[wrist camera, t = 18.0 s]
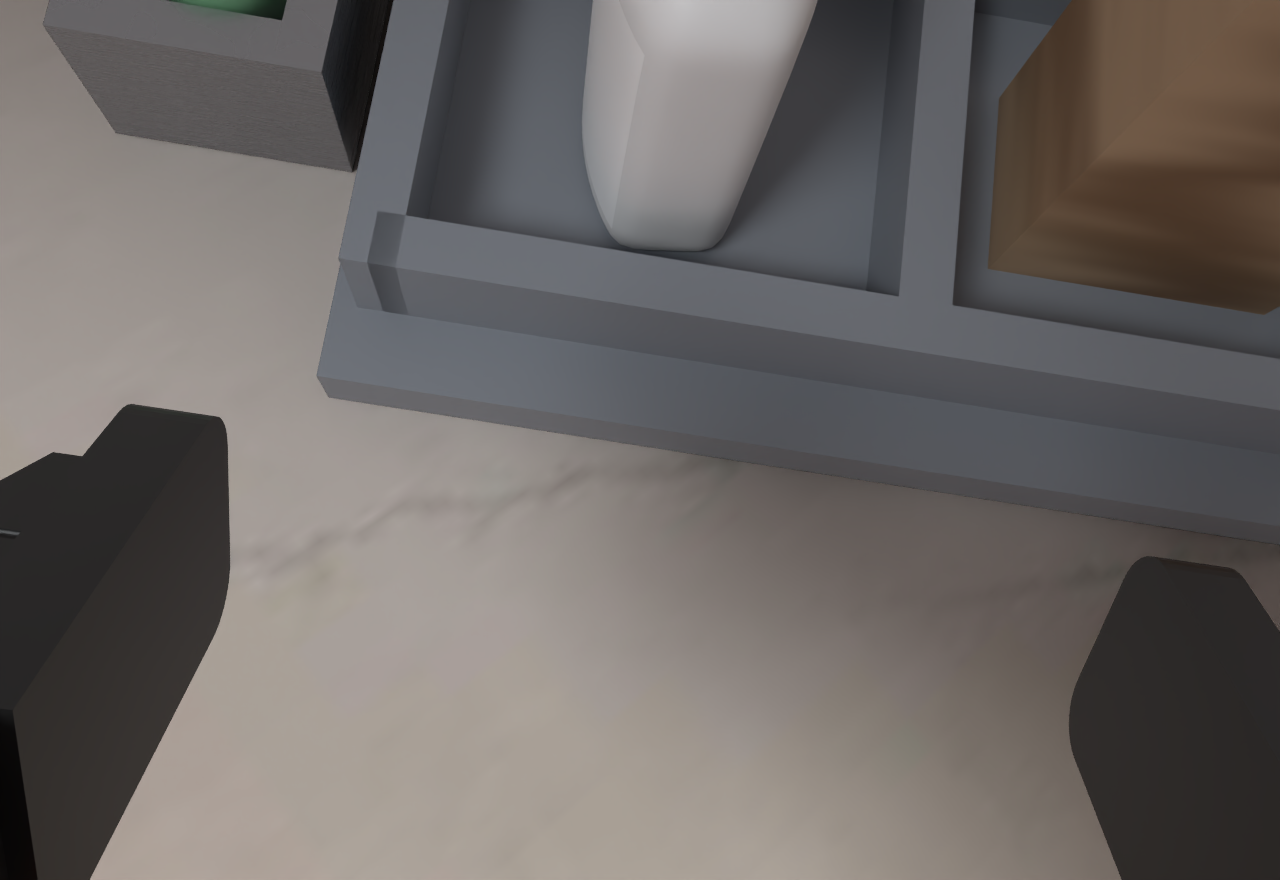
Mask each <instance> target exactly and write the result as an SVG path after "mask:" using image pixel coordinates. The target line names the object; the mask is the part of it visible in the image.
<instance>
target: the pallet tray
mask: <svg viewBox="0 0 1280 880" xmlns="http://www.w3.org/2000/svg"><path fill="white" fill-rule="evenodd" d="M1071 1H1072V0H818V1H817V4H816V7H815V11H814V14H813V17H812V19H811V22H810V25H809V28H808V30H807V33H806V36H805V38H804V41H803V43H802V46H801V49H800V51H799V54H798V57H797V59H796V62H795V64H794V67H793V70H792V72H791V75H790V77H789V80H788V82H787V85H786V87H785V90H784V92H783V94H782V97H781V99H780V102H779V104H778V107H777V109H776V112H775V114H774V117H773V119H772V122H771V124H770V127H769V129H768V132H767V134H766V137H765V139H764V141H763V144H762V146H761V149H760V151H759V154H758V156H757V159H756V161H755V164H754V166H753V168H752V171H751V173H750V176H749V178H748V181H747V183H746V186H745V188H744V190H743V193H742V195H741V198H740V200H739V203H738V205H737V207H736V210H735V212H734V215H733V217H732V219H731V222H730V224H729V226H728V228H727V230H726V232H725V233H724V235H723V237H722V239H721V240H720V241H719V242H718V243H716V244H715V245H714V246H713V247H712V248H710V249H706V250H702V251H662V250H643V249H633V248H630V247H627V246H623V245H620V244H619V243H618V242H617V241H616V240H615V239H614V238H613V237H612V236H611V235H610V234H609V232H608V230H607V228H606V226H605V224H604V222H603V220H602V218H601V215H600V213H599V210H598V208H597V205H596V202H595V199H594V197H593V194H592V190H591V187H590V183H589V179H588V175H587V170H586V165H585V158H584V152H583V140H582V108H583V95H584V85H585V75H586V65H587V55H588V45H589V34H590V24H591V14H592V4H593V0H394V1H393V6H392V10H391V15H390V20H389V24H388V29H387V34H386V38H385V43H384V48H383V52H382V57H381V62H380V66H379V71H378V76H377V80H376V85H375V90H374V94H373V99H372V104H371V108H370V113H369V118H368V122H367V127H366V132H365V136H364V141H363V146H362V150H361V155H360V160H359V164H358V169H357V174H356V178H355V183H354V188H353V192H352V197H351V202H350V206H349V211H348V216H347V220H346V225H345V230H344V234H343V239H342V244H341V248H340V253H339V261H340V263H341V264H340V268H339V273H338V278H337V282H336V287H335V292H334V296H333V301H332V306H331V310H330V315H329V320H328V324H327V329H326V334H325V338H324V343H323V348H322V352H321V357H320V362H319V366H318V371H317V378H318V380H319V381H320V383H321V385H322V386H323V388H324V390H325V392H326V393H327V395H328V397H330V398H336V399H343V400H349V401H356V402H362V403H368V404H375V405H381V406H388V407H394V408H401V409H407V410H414V411H420V412H427V413H433V414H439V415H446V416H452V417H459V418H465V419H472V420H478V421H485V422H491V423H497V424H504V425H510V426H517V427H523V428H530V429H536V430H543V431H549V432H555V433H562V434H568V435H575V436H581V437H588V438H594V439H601V440H607V441H613V442H620V443H626V444H633V445H639V446H646V447H652V448H659V449H665V450H672V451H678V452H684V453H691V454H697V455H704V456H710V457H717V458H723V459H730V460H736V461H742V462H749V463H755V464H762V465H768V466H775V467H781V468H788V469H794V470H800V471H807V472H813V473H820V474H826V475H833V476H839V477H846V478H852V479H858V480H865V481H871V482H878V483H884V484H891V485H897V486H904V487H910V488H916V489H923V490H929V491H936V492H942V493H949V494H955V495H962V496H968V497H975V498H981V499H987V500H994V501H1000V502H1007V503H1013V504H1020V505H1026V506H1033V507H1039V508H1045V509H1052V510H1058V511H1065V512H1071V513H1078V514H1084V515H1091V516H1097V517H1103V518H1110V519H1116V520H1123V521H1129V522H1136V523H1142V524H1149V525H1155V526H1161V527H1168V528H1174V529H1181V530H1187V531H1194V532H1200V533H1207V534H1213V535H1219V536H1226V537H1232V538H1239V539H1245V540H1252V541H1258V542H1265V543H1271V544H1278V545H1280V306H1279V307H1277V308H1276V309H1274V310H1272V311H1270V312H1269V313H1267V314H1265V315H1261V314H1255V313H1249V312H1243V311H1237V310H1231V309H1225V308H1219V307H1213V306H1207V305H1201V304H1195V303H1189V302H1183V301H1177V300H1171V299H1165V298H1159V297H1153V296H1147V295H1141V294H1135V293H1129V292H1123V291H1117V290H1111V289H1105V288H1099V287H1093V286H1087V285H1081V284H1075V283H1069V282H1063V281H1057V280H1051V279H1045V278H1039V277H1033V276H1027V275H1021V274H1015V273H1009V272H1003V271H997V270H991V269H988V256H989V242H990V227H991V212H992V197H993V182H994V167H995V152H996V137H997V122H998V107H999V97H1000V96H1001V95H1002V93H1003V92H1004V91H1005V89H1006V88H1007V87H1008V85H1009V84H1010V83H1011V81H1012V80H1013V79H1014V77H1015V76H1016V75H1017V73H1018V72H1019V71H1020V69H1021V68H1022V67H1023V65H1024V64H1025V63H1026V61H1027V60H1028V58H1029V57H1030V56H1031V54H1032V53H1033V52H1034V50H1035V49H1036V48H1037V46H1038V45H1039V44H1040V42H1041V41H1042V40H1043V38H1044V37H1045V36H1046V34H1047V33H1048V32H1049V30H1050V29H1051V28H1052V26H1053V25H1054V24H1055V22H1056V21H1057V19H1058V18H1059V17H1060V15H1061V14H1062V13H1063V11H1064V10H1065V9H1066V7H1067V6H1068V5H1069V3H1070V2H1071Z"/></svg>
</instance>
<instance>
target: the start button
mask: <svg viewBox="0 0 1280 880" xmlns="http://www.w3.org/2000/svg"><path fill="white" fill-rule="evenodd" d="M169 1H172V2H178V3H184V4H190V5H196V6H201V7H207V8H213V9H219V10H225V11H230V12H236V13H242V14H248V15H253V16H259V17H265V18H271V19H277V20H282V19H283V15H284V10H285V6H286V2H287V0H169Z"/></svg>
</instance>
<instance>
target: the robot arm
mask: <svg viewBox="0 0 1280 880" xmlns="http://www.w3.org/2000/svg"><path fill="white" fill-rule="evenodd" d="M229 574H230V533H229V487H228V444H227V433H226V428H225V425H224V423H223V421H222V419H221V418H220V417H216V416H209V415H203V414H196V413H189V412H182V411H176V410H169V409H162V408H155V407H148V406H142V405H135V404H129V405H126V406H125V407H123V408H122V409H121V410H120V411H119V412H118V414H117V415H116V416H115V417H114V418H113V420H112V421H111V422H110V423H109V425H108V426H107V427H106V428H105V429H104V431H103V432H102V433H101V434H100V436H99V437H98V438H97V439H96V440H95V442H94V443H93V444H92V445H91V446H90V448H89V449H88V450H87V451H86V453H85V454H84V455H83V456H76V455H69V454H62V453H55V452H53V453H51V454H49V455H47V456H45V457H43V458H41V459H40V460H38V461H36V462H34V463H32V464H30V465H28V466H26V467H25V468H23V469H21V470H19V471H17V472H15V473H13V474H12V475H10V476H8V477H6V478H4V479H2V480H0V880H90V878H91V876H92V874H93V872H94V870H95V868H96V866H97V864H98V862H99V860H100V858H101V856H102V854H103V852H104V850H105V848H106V846H107V844H108V843H109V841H110V839H111V837H112V835H113V833H114V831H115V829H116V827H117V825H118V823H119V821H120V819H121V817H122V815H123V813H124V811H125V809H126V807H127V805H128V803H129V801H130V799H131V797H132V796H133V794H134V792H135V790H136V788H137V786H138V784H139V782H140V780H141V778H142V776H143V774H144V772H145V770H146V768H147V766H148V764H149V762H150V760H151V758H152V756H153V754H154V752H155V751H156V749H157V747H158V745H159V743H160V741H161V739H162V737H163V735H164V733H165V731H166V729H167V727H168V725H169V723H170V721H171V719H172V717H173V715H174V713H175V711H176V709H177V707H178V705H179V704H180V702H181V700H182V698H183V696H184V694H185V692H186V690H187V688H188V686H189V684H190V682H191V680H192V678H193V676H194V674H195V672H196V670H197V668H198V666H199V664H200V662H201V660H202V658H203V657H204V655H205V653H206V651H207V649H208V647H209V645H210V643H211V641H212V639H213V637H214V635H215V632H216V630H217V627H218V625H219V622H220V619H221V616H222V612H223V609H224V605H225V600H226V595H227V590H228V583H229ZM1069 734H1070V743H1071V747H1072V752H1073V755H1074V758H1075V761H1076V763H1077V766H1078V768H1079V771H1080V774H1081V776H1082V779H1083V781H1084V784H1085V786H1086V789H1087V792H1088V794H1089V797H1090V799H1091V802H1092V804H1093V807H1094V810H1095V812H1096V815H1097V817H1098V820H1099V822H1100V825H1101V828H1102V830H1103V833H1104V835H1105V838H1106V840H1107V843H1108V846H1109V848H1110V851H1111V853H1112V856H1113V859H1114V861H1115V864H1116V866H1117V869H1118V871H1119V874H1120V876H1121V879H1122V880H1280V632H1279V630H1278V629H1277V627H1276V626H1275V624H1274V623H1273V621H1272V620H1271V618H1270V617H1269V615H1268V614H1267V612H1266V611H1265V609H1264V608H1263V606H1262V605H1261V603H1260V602H1259V600H1258V599H1257V597H1256V596H1255V594H1254V593H1253V591H1252V590H1251V589H1250V587H1249V586H1248V584H1247V583H1246V581H1245V580H1244V578H1243V577H1242V576H1241V575H1240V574H1239V573H1238V572H1237V571H1235V570H1233V569H1231V568H1226V567H1219V566H1212V565H1206V564H1199V563H1192V562H1185V561H1178V560H1172V559H1165V558H1158V557H1150V556H1146V557H1143V558H1141V559H1139V560H1138V561H1136V562H1135V563H1134V564H1133V565H1132V567H1131V568H1130V570H1129V571H1128V572H1127V574H1126V576H1125V578H1124V580H1123V582H1122V585H1121V587H1120V589H1119V591H1118V593H1117V596H1116V598H1115V600H1114V602H1113V604H1112V606H1111V609H1110V611H1109V613H1108V615H1107V617H1106V620H1105V622H1104V624H1103V626H1102V628H1101V631H1100V633H1099V635H1098V637H1097V639H1096V641H1095V644H1094V646H1093V648H1092V650H1091V652H1090V655H1089V657H1088V659H1087V661H1086V663H1085V666H1084V668H1083V670H1082V672H1081V674H1080V677H1079V679H1078V681H1077V683H1076V686H1075V689H1074V692H1073V696H1072V700H1071V706H1070V714H1069Z"/></svg>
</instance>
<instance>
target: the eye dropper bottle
mask: <svg viewBox="0 0 1280 880" xmlns="http://www.w3.org/2000/svg"><path fill="white" fill-rule="evenodd" d="M817 1H818V0H593V4H592V14H591V24H590V34H589V45H588V55H587V65H586V75H585V85H584V95H583V108H582V140H583V152H584V158H585V165H586V170H587V175H588V179H589V183H590V187H591V190H592V194H593V197H594V199H595V202H596V205H597V208H598V210H599V213H600V215H601V218H602V220H603V222H604V224H605V226H606V228H607V230H608V232H609V234H610V235H611V236H612V237H613V238H614V239H615V240H616V241H617V242H618V243H619V244H620V245H623V246H627V247H630V248H633V249H643V250H662V251H702V250H706V249H710V248H712V247H713V246H714V245H715V244H716V243H718V242H719V241H720V240H721V239H722V237H723V235H724V233H725V232H726V230H727V228H728V226H729V224H730V222H731V219H732V217H733V215H734V212H735V210H736V207H737V205H738V203H739V200H740V198H741V195H742V193H743V190H744V188H745V186H746V183H747V181H748V178H749V176H750V173H751V171H752V168H753V166H754V164H755V161H756V159H757V156H758V154H759V151H760V149H761V146H762V144H763V141H764V139H765V137H766V134H767V132H768V129H769V127H770V124H771V122H772V119H773V117H774V114H775V112H776V109H777V107H778V104H779V102H780V99H781V97H782V94H783V92H784V90H785V87H786V85H787V82H788V80H789V77H790V75H791V72H792V70H793V67H794V64H795V62H796V59H797V57H798V54H799V51H800V49H801V46H802V43H803V41H804V38H805V36H806V33H807V30H808V28H809V25H810V22H811V19H812V17H813V14H814V11H815V7H816V4H817Z"/></svg>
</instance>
